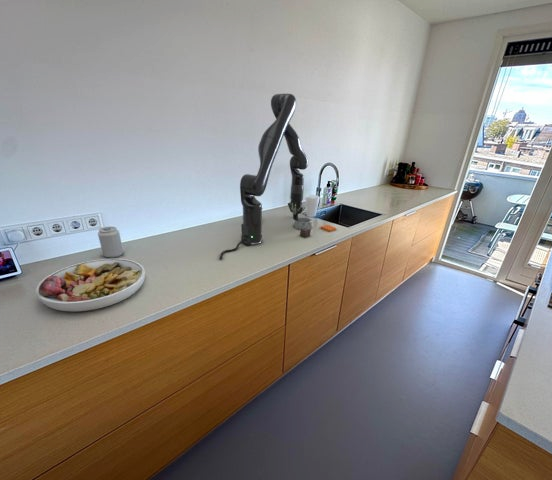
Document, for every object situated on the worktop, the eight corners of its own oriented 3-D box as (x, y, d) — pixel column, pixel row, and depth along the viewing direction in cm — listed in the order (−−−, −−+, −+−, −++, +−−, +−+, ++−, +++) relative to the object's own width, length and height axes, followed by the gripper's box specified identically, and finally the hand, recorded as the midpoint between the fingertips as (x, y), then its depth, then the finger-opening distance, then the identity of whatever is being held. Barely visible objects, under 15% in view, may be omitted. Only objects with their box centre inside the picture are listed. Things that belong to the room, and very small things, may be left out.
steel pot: (302, 231, 166) (303, 223, 164) (291, 226, 173) (291, 218, 171) (314, 227, 173) (315, 220, 171) (302, 223, 179) (303, 216, 177)
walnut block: (305, 237, 157) (305, 230, 155) (299, 235, 159) (300, 228, 158) (310, 236, 160) (310, 229, 158) (304, 234, 162) (305, 227, 160)
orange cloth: (329, 231, 169) (329, 229, 168) (320, 228, 173) (320, 226, 172) (335, 229, 172) (336, 227, 172) (326, 226, 177) (327, 224, 176)
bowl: (125, 262, 118) (121, 245, 114) (162, 290, 101) (159, 270, 98) (30, 289, 96) (21, 269, 93) (57, 330, 80) (48, 307, 76)
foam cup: (313, 218, 190) (315, 199, 184) (301, 215, 194) (303, 196, 188) (320, 215, 197) (322, 196, 192) (308, 212, 201) (309, 194, 196)
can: (120, 249, 128) (115, 224, 123) (126, 255, 123) (120, 229, 118) (101, 254, 123) (94, 227, 118) (106, 260, 119) (99, 233, 113)
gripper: (284, 190, 170) (283, 218, 177) (300, 194, 162) (298, 224, 169) (293, 188, 175) (292, 216, 182) (309, 193, 167) (307, 221, 174)
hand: (295, 219), depth 176 cm, fingers closed
